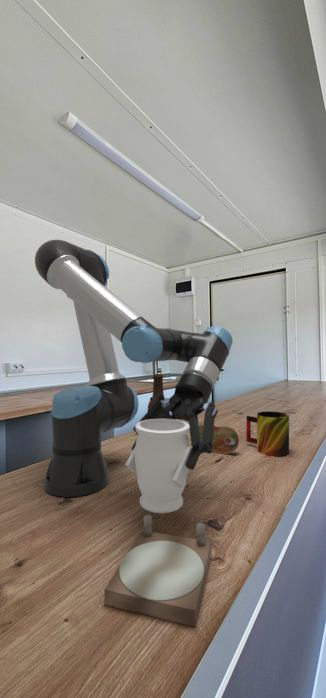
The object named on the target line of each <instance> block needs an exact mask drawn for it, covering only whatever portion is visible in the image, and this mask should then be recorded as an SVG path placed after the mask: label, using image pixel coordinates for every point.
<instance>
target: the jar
mask: <svg viewBox="0 0 326 698" xmlns="http://www.w3.org/2000/svg"><path fill="white" fill-rule="evenodd" d="M139 421H140V420H139ZM139 421H138V422H136V424H135V425H134V427H135V426H136V427H135V430H136V432H137V433H138V435H137V437H136V439H137V440H136V439H135V441H136V446H135V467H136V471H135V473H136V479H137V486H138V489H139V491H140V494H141V496H140V497H139V504H140V506H141V507H142V508H143V509H144V510H146V511H149V512H151V513H155V514H168V513H172V512H173V513H174V512H175V511H177V510H179V509H180V508H181V507H183V505H184V497H183V495H182V494H183V492H184V489H185V487H186V483H187V477H188V476H187V477H186V479H185V482H184V484H183V487H182V488H180V487H178V486H177V485H176V484H175V482H174V481H173V480H172V479H173V477H174V475H175V472H176V470H177V468H178V466H179V463H180V461H181V459H182V458H183V455H184V453H185V450H186V447H187V446H188V447H190V444H189V438H188V434H189V433H190V426H189V422H187V421H184V420H181V419H175V420H174V419H149V420H144V421H140V422H139ZM136 432H135V433H136ZM137 433H136V434H137Z"/></svg>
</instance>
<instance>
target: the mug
mask: <svg viewBox="0 0 326 698" xmlns="http://www.w3.org/2000/svg"><path fill="white" fill-rule="evenodd" d="M252 423H256V425H257V426H256V434H257V435H256V437H257V438H255V437H251V436H252V433H251V432H252V431H251V424H252ZM245 437H246V439H245V440H246V441H245V442H246V443H250V444H254V445H257V446H256V448H257V449H256V451H257V450H258V451H257V452H258V453H259V452H260V453H262V454H261V455H263V454H265V455H264V456H266V455H267V456H266V457H271V456H274V457H273V458H282V457H283V456H284V457H287V455H288V454H290V415H289V414H288V413H285V412H282V411H281V412H280V411H269V410H268V411H266V410H265V411H259V412H256V416H251V415H247V416H246V436H245ZM260 453H259V454H260ZM288 456H289V455H288Z"/></svg>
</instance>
